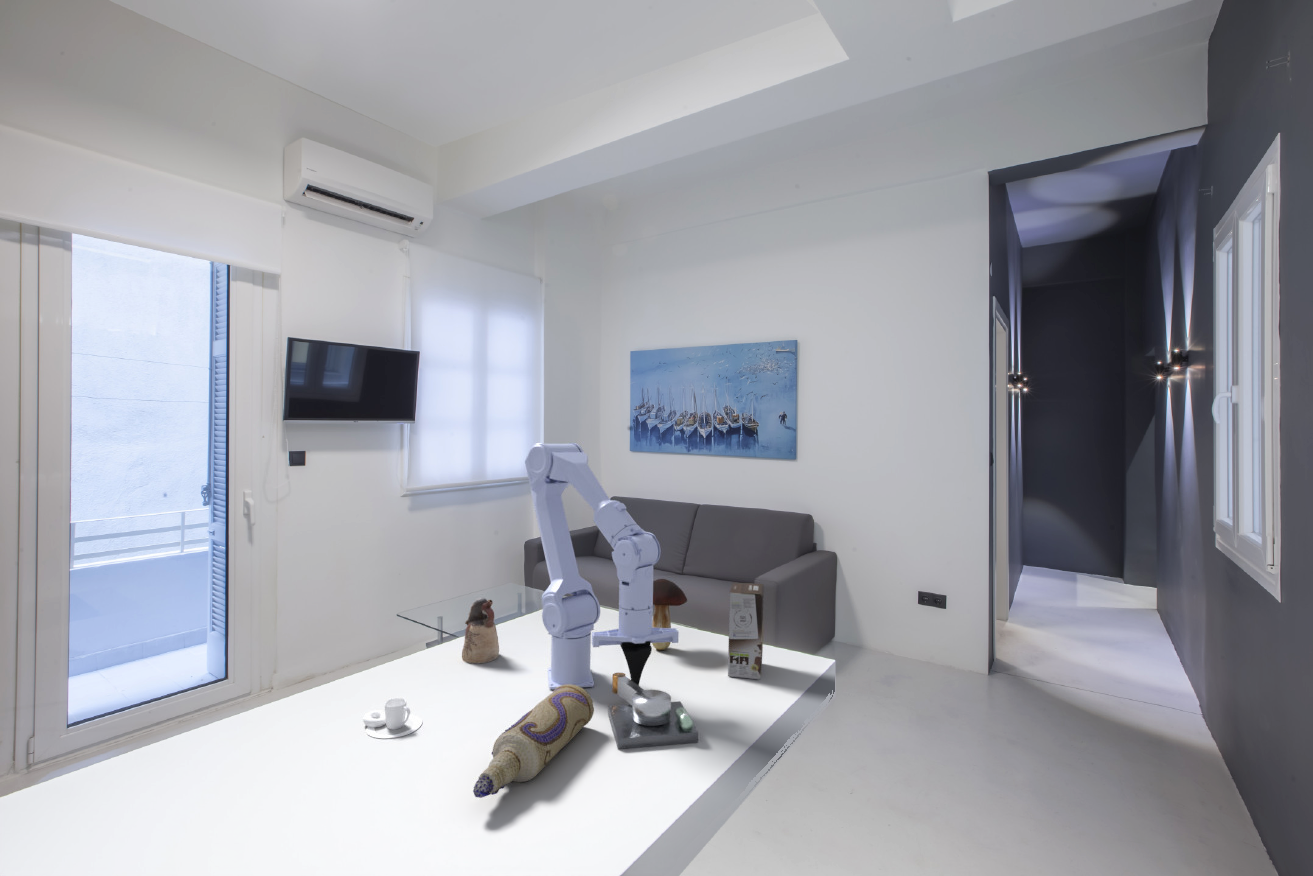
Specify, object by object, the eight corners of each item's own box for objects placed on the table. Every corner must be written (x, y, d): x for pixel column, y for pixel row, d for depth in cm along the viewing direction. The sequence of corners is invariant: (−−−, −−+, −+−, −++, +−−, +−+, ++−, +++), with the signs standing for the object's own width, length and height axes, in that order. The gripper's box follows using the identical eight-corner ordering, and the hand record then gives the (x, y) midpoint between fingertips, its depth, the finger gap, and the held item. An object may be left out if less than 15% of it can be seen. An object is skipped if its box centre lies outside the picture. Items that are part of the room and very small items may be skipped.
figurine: (483, 649, 132) (484, 592, 132) (506, 656, 128) (507, 597, 128) (455, 658, 126) (456, 598, 126) (477, 666, 122) (478, 604, 122)
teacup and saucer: (355, 727, 97) (355, 701, 97) (405, 711, 103) (405, 686, 103) (379, 747, 91) (380, 719, 91) (431, 729, 97) (431, 702, 97)
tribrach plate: (608, 715, 101) (608, 694, 101) (680, 710, 104) (680, 689, 104) (617, 749, 91) (618, 725, 91) (697, 742, 93) (698, 718, 93)
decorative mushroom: (690, 643, 137) (691, 575, 137) (681, 660, 127) (682, 586, 127) (642, 639, 140) (643, 572, 140) (628, 655, 129) (630, 583, 129)
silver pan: (678, 720, 96) (678, 700, 96) (644, 729, 93) (644, 709, 93) (631, 685, 109) (631, 668, 109) (599, 692, 106) (600, 674, 106)
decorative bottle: (551, 721, 100) (552, 679, 100) (595, 729, 97) (596, 686, 97) (446, 811, 75) (448, 756, 75) (500, 826, 73) (502, 768, 73)
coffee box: (761, 680, 117) (763, 594, 117) (727, 677, 119) (728, 591, 119) (763, 663, 126) (764, 583, 126) (731, 660, 128) (732, 581, 127)
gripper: (595, 614, 100) (594, 699, 100) (683, 610, 103) (682, 693, 103) (591, 602, 107) (589, 682, 107) (673, 599, 110) (672, 676, 110)
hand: (634, 686), depth 106 cm, fingers closed
